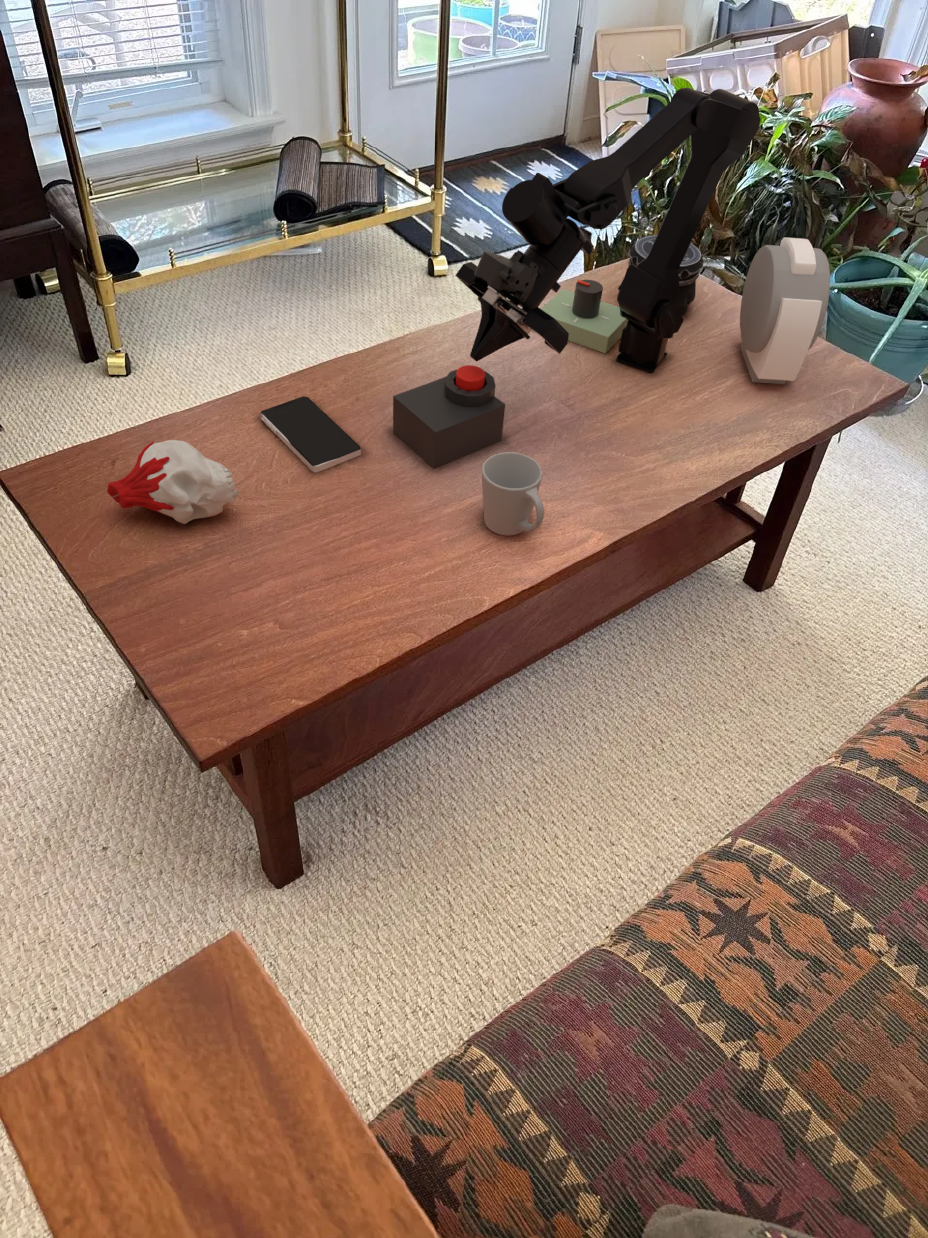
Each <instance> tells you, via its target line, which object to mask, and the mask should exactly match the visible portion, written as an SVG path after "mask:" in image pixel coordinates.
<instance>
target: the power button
mask: <svg viewBox="0 0 928 1238" xmlns="http://www.w3.org/2000/svg"><path fill="white" fill-rule="evenodd" d="M457 369H458V370H457ZM457 369H456V370H457V371H456V386H457V387H458V388H460V389H463V390H466V391H477V390H480V389H482V388H483V387H484V383H485V372H484V371H485V370H484V369H482V367H480V366H477V365H469V364H468V365H467V364H466V365H462V366H460V367H458V368H457Z"/></svg>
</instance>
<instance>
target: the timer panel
mask: <svg viewBox="0 0 928 1238" xmlns="http://www.w3.org/2000/svg"><path fill="white" fill-rule="evenodd" d="M574 294H575V291H572V290H569V289H566V288H562V289H561V290H560V291H559V292H557V294H556V295H554V296H553V298H551V299H550V300H549V301H548V302H547V303H545V304H544V305H543V306H542V307H541V308H540V309H541V310H543V311H544V312H546V313H547V314H549V315H550V316H552V317H553V318H555V319H556V320H557V322H558V323H559V324H560V325H561V326H562V327H563V328H564V329H565V330H566V331H567V332H568V333H569V337H568V342H571V343H574V344H576V345H579V346H583V347H586V348H588V349H591V350H594V351H597V352H599V353H603V354H607V352H608V351H610V349H611V348H612V347H613V346H614V345H615V344H616V343H617V342H618V341H620V340H621V335H622V330H623V328H624V327H625V326H626V325H627V322H628V321H629V320H627V319H626V318H624V317H622V316H621V315H620V307H619V305H618V306H617V305H615V304H611V303H608V302H605V301H602V300H601V302H600V308H599V313H598V315H597V316H596V317H594V318H581V317H578V316H576V315H575V314H574V313H573V312H572V307H573V300H574Z"/></svg>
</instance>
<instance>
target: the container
mask: <svg viewBox="0 0 928 1238" xmlns="http://www.w3.org/2000/svg"><path fill="white" fill-rule="evenodd" d="M656 237H657V234H653V235H646V236H643V237H641V238H638V239H637V240H636V241H635V242H634V244H632V245H631V248H629V250H628V258H629V259H628V262H627V267H629V266H630V265H631V264H632V265H634V266H636V265H638V264H639V263H640V262H642V261H643V260H644V259H645V258H647V256H648V255H649V253H650V250H651V248H652V246H653V243H654V241H655V239H656ZM703 267H704V259H703V256H702V252H701V250H700V248H698V246H696V245H695V244H693V243H692V242H691V243H690V245H689V247H688V250H687V252H686V254H685V256H684V258H683V260H682V263H681V265H680V267H679V270H678V273H679V294H678V297H677V300H676V303H675V306H674V307H675V308H676V309H677V311H678V312H679V313H680V315H681V316H682V317H683V316H684V315H686V313H687V311H688V306H689V305H690V304H691V303H692V302H694V301H695V298H696V289H697V288H696V287H697V283H696V282H697V280H698V279H699V277H700V272H701V270H702V268H703Z"/></svg>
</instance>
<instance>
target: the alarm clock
mask: <svg viewBox="0 0 928 1238" xmlns="http://www.w3.org/2000/svg"><path fill="white" fill-rule="evenodd" d="M828 260H829V259H828V257H827V255H826V253H825V252H824V251H823V250H822V249H821V248H816V247H813V245H812V243H811V242H810V240H809V239H808V238H798V237H782V239H781V241H780V244H779V245H771V244H765V245H763V246H762V247H760V248H759V249H758V250H757V251H756V252H755V255H754V257H753V259H752V260H751V263H750V265H749V268H748V271H747V274H746V277H745V281H744V284H743V289H742V295H741V301H740V302H741V303H740V310H739V331H740V338H741V343H740V350H741V352H742V357H743V359H744V362H745V366H746V368H747V371H748V374H749V378H750V380H751V383H760V384H776V385H786V382H787V381H792V382H793V381H794V382H795V381H796V379H797V377H798V374H799V372H800V370H801V368H802V366H803V364H804V362H805V359H806V356H807V354H808V352H809V350H811V348H812V347H813V346H814V344H815V342H816V341H817V339H818V337H819V336H820V333H821V331H822V327H823V324H824V322H825V318H826V314H827V309H828V304H829V298H830V290H831V269H830V263H829V261H828Z"/></svg>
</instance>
